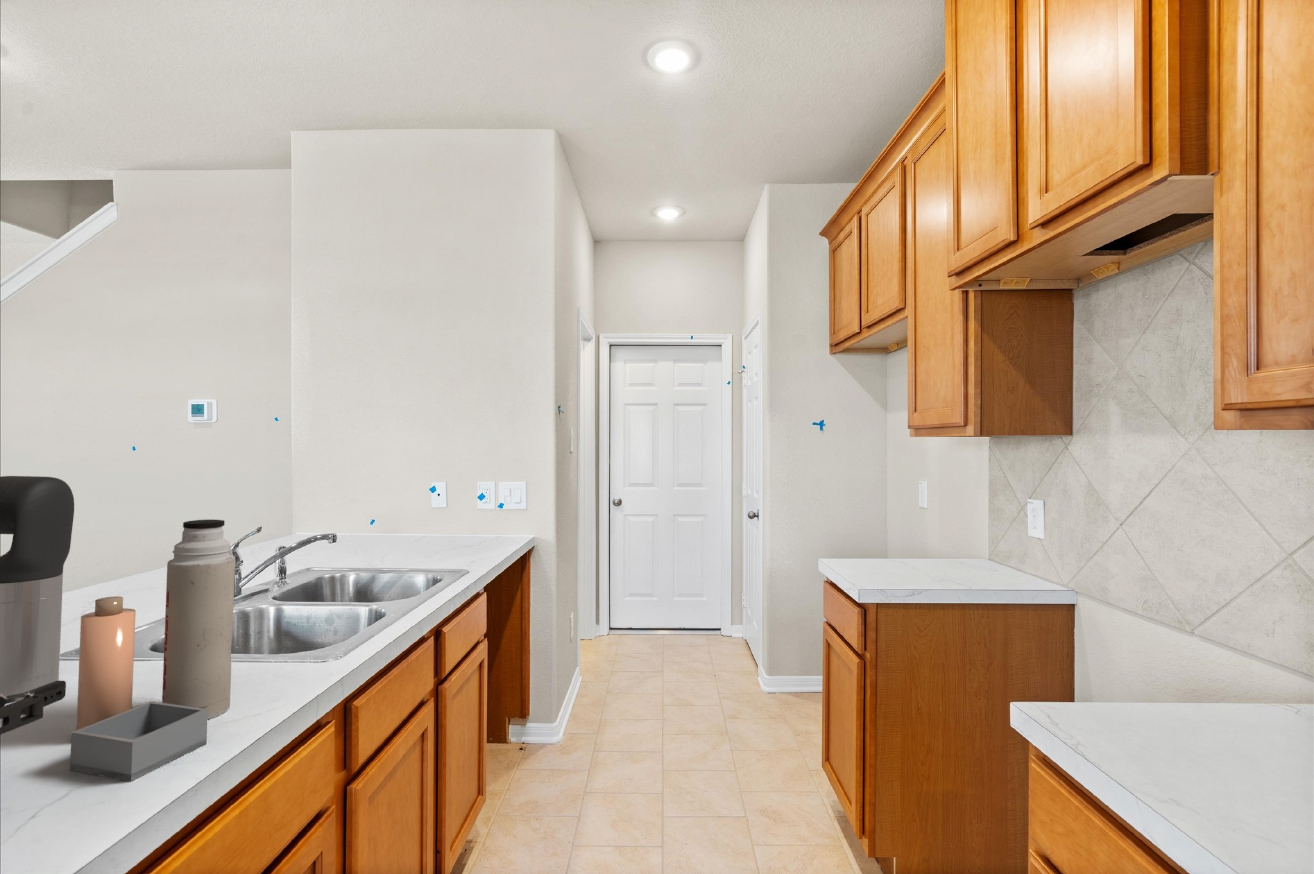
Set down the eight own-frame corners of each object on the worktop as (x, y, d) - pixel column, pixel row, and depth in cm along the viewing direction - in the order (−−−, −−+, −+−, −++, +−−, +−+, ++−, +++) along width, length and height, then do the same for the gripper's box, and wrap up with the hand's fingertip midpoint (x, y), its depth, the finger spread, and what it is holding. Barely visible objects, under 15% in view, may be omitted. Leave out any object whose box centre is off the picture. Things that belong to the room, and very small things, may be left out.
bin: (70, 770, 73) (71, 732, 73) (150, 734, 82) (151, 701, 82) (131, 781, 71) (132, 742, 71) (206, 743, 80) (207, 709, 80)
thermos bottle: (151, 728, 84) (159, 524, 84) (173, 704, 91) (181, 517, 92) (220, 720, 86) (227, 523, 87) (236, 698, 94) (243, 516, 94)
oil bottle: (64, 739, 80) (70, 602, 80) (110, 721, 85) (115, 592, 86) (97, 745, 79) (102, 605, 79) (141, 726, 84) (146, 595, 84)
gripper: (-86, 718, 56) (87, 657, 72) (-231, 712, 57) (-27, 652, 73) (-89, 801, 56) (84, 721, 72) (-234, 793, 56) (-30, 716, 73)
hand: (28, 687), depth 72 cm, fingers open, 8 cm apart
